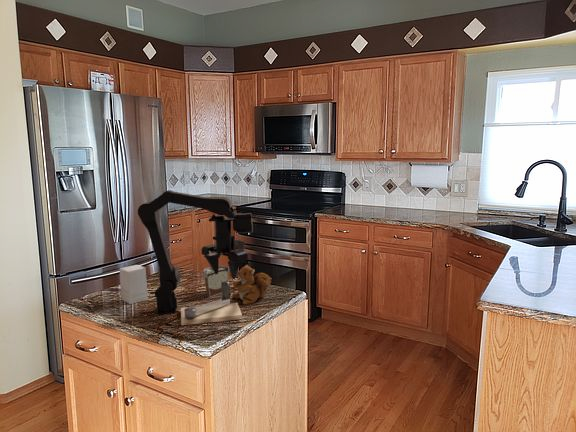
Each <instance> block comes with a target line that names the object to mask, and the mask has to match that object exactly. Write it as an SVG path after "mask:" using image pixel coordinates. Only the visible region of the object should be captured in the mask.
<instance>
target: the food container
mask: <svg viewBox="0 0 576 432" xmlns="http://www.w3.org/2000/svg"><path fill="white" fill-rule="evenodd" d="M229 273H230V269H229V265H228V266H227V265H219V269H218V274H215V273H214V271H213V269H212V267H211V266H209V267H206V268H204V269H203V271H202V274H201V275H202V278H204V286H205V293H206V296H207V297H208V298H212V297H214V296H217V295H222V293H221V282H222V281H229Z"/></svg>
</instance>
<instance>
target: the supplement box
mask: <svg viewBox="0 0 576 432" xmlns="http://www.w3.org/2000/svg"><path fill="white" fill-rule="evenodd" d="M146 268H147V267H144V266H141V265H139V264H134V265H128V266H123V267H121V268H119V281H120V282H119V283H120V294H121V301H124V302H125V303H127V304H129V305H133V304H136V303H140V302H143V301H147V300H149V298H148V285H147V282H148V281H147V271H146V270H147V269H146Z"/></svg>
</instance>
